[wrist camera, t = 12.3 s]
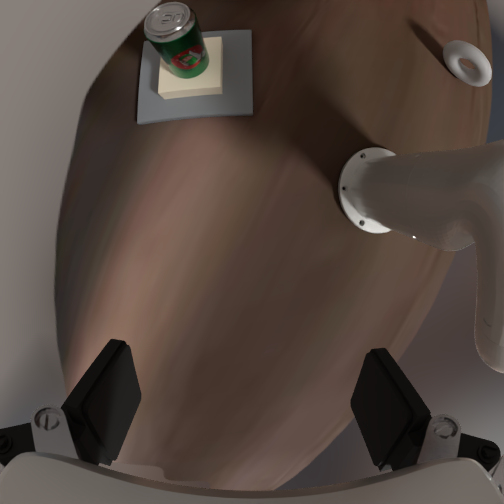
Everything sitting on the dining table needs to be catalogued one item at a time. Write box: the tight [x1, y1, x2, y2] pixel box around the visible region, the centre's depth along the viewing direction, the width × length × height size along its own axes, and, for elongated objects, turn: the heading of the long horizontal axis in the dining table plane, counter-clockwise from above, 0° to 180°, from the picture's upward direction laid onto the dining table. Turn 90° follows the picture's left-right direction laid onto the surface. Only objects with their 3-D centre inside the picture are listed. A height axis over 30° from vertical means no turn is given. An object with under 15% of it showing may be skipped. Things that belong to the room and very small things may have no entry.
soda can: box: [144, 2, 209, 79], centre depth 22 cm, size 5×5×12 cm
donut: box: [443, 40, 492, 86], centre depth 26 cm, size 10×4×10 cm, turn 57°
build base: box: [137, 30, 253, 125], centre depth 30 cm, size 16×14×4 cm
